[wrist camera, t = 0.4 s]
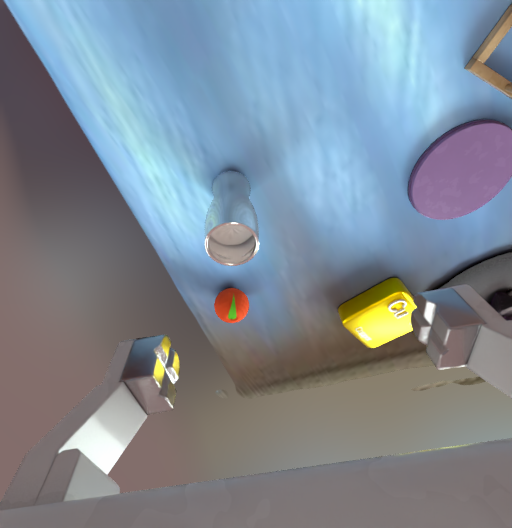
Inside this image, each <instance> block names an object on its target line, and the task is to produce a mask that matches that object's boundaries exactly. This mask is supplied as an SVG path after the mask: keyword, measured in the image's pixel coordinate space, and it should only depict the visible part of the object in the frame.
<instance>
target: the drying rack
mask: <svg viewBox="0 0 512 528" xmlns="http://www.w3.org/2000/svg"><path fill="white" fill-rule="evenodd" d="M511 27H512V4H511V5H510V6H509V8H508V9H507V10H506V12H505V13H504V15H503V16H502V17H501V19H500V20H499V21H498V23H497V24H496V26H495V27H494V28H493V30H492V31H491V32H490V34H489V35H488V37H487V38H486V39H485V41H484V42H483V43H482V45H481V46H480V48H479V49H478V50H477V52H476V53H475V54H474V56H473V57H472V59H471V60H470V61H469V63H468V64H467V65H466V67H465V69H466V70H467V71H469V72H471V73H472V74H474V75H475V76H477V77H478V78H480V79H481V80H483V81H485V82H486V83H488V84H489V85H491V86H492V87H494V88H495V89H497V90H498V91H500V92H502V93H503V94H505V95H506V96H508V97H509V98H511V99H512V82H510V81H509V80H507V79H506V78H504V77H503V76H501V75H500V74H498V73H497V72H495V71H494V70H492V69H491V68H489V67H488V66H486V65H485V64H483V63H485V61H486V60H487V59H488V57H489V56H490V55H491V53H492V52H493V51H494V49H495V48H496V47H497V45H498V44H499V43H500V41H501V40H502V39H503V37H504V36H505V35H506V33H507V32H508V31H509V29H510V28H511Z"/></svg>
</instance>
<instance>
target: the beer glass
mask: <svg viewBox="0 0 512 528" xmlns="http://www.w3.org/2000/svg"><path fill="white" fill-rule="evenodd" d="M250 191H251V187H250V183H249V181H248V179H247V178H246V177H245V176H244V175H243V174H241V173H239V172H237V171H225V172H222V173H221V174H219V175H218V176H217V177H216V178H215V179H214V181H213V184H212V193H213V197H214V198H213V200H212V202H211V204H210V207H209V209H208V212H207V215H206V220H205V249H206V252H207V254H208V255H209V256H210V257H211V258H212V259H213V260H214V261H216V262H218V263H220V264H223V265H228V266H236V265H241V264H244V263H246V262H248V261H249V260H251V259H252V258H253V257H254V256H255V254H256V253H257V251H258V247H259V229H258V220H257V215H256V212H255V210H254V207H253V205H252V203H251V201H250V199H249V196H250Z"/></svg>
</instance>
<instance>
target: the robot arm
mask: <svg viewBox="0 0 512 528" xmlns="http://www.w3.org/2000/svg"><path fill="white" fill-rule="evenodd" d="M413 303H414V304H415V306H416V308H415V309H414V310H413V311H412V312H411V319H410V321H411V326H412V330H413V332H414V334H415V336H416V338H417V339H418V341H420V342H422V343H424V344H425V345H427V348H426V353H427V355H428V356H429V358H430V359H431V361H432V362H433V364H434V365H435V367H436V368H437V369H446V368H454V367H462V366H466V368H468V369H469V370H471V371H472V372H474V373H475V374H477V375H478V376H480V377H481V378H482V379H484V380H485V381H487V382H489V383H490V384H492V385H493V386H495V387H496V388H497V389H499V390H500V391H502V392H503V393H505V394H506V395H508V396H509V397H511V398H512V320H508V321H506V320H505V319H504V318H503V317H502V316H501V315H500V314H499V313H498V312H497V311H496V310H495V309H494V308H492V307H491V306H490V305H489V304H488V303H487V302H486V301H485V300H484V299H483V298H482V297H481V296H480V295H479V294H478V293H477V292H476V291H475V290H474V289H473V288H472V287H470V286H468V285H466V284H465V285H460V286H454V287H449V288H443V289H437V290H431V291H425V292H420V293H416V295H415V296H414V300H413ZM170 345H171V341H170V339H169V337H168V336H167V335H159V336H152V337H145V338H138V339H133V340H126V341H121V342H120V343H119V344H118V346H117V348H116V350H115V353H114V355H113V358H112V360H111V362H110V365H109V367H108V370H107V372H106V375H105V377H104V380H103V382H102V385H99V386H96V387H95V388H94V389H93V390H92V391H91V392H90V393H89V394H88V395H87V396H86V397H85V398H84V399H83V400H82V401H81V402H80V403H78V404H77V405H76V406H75V407H74V408H73V409H72V410H71V411H70V412H69V413H68V414H67V415H66V416H65V417H64V418H63V419H62V420H61V421H60V422H59V423H58V424H57V425H56V426H55V427H54V428H53V429H52V430H50V432H48V433H47V434H46V435H45V436H44V437H43V438H42V439H41V440H40V441H39V442H38V443H37V444H36V445H35V446H34V447H33V448H32V449H31V450H30V451H29V452H28V453H27V454H26V455H25V457H24V459H23V460H22V463H21V464H20V466H19V468H18V470H17V472H16V474H15V476H14V478H13V480H12V482H11V483H10V485H9V487H8V489H7V491H6V493H5V495H4V497H3V499H2V501H1V502H0V528H512V438H509V439H501V440H494V441H488V442H480V443H473V444H466V445H459V446H452V447H445V448H438V449H431V450H424V451H416V452H409V453H402V454H395V455H388V456H381V457H375V458H367V459H360V460H353V461H346V462H339V463H332V464H324V465H317V466H311V467H303V468H296V469H289V470H282V471H275V472H269V473H261V474H254V475H247V476H240V477H233V478H226V479H219V480H212V481H205V482H198V483H191V484H183V485H176V486H169V487H162V488H156V489H149V490H141V491H134V492H128V493H121V494H119V491H120V488H119V486H118V484H117V483H115V482H114V481H113V480H112V479H111V478H110V477H109V476H108V475H107V474H108V473H109V472H110V470H111V469H112V467H113V466H114V464H115V463H116V461H117V460H118V458H119V457H120V456H121V454H122V452H123V451H124V449H125V448H126V447H127V445H128V444H129V442H130V441H131V440H132V438H133V437H134V435H135V434H136V432H137V431H138V429H139V428H140V427H141V425H142V424H143V422H144V421H145V419H146V418H147V415H148V414H154V413H160V412H165V411H170V410H173V408H174V402H175V395H176V389H175V387H174V383H175V382H176V381H177V380H178V378H179V372H180V365H179V358H178V355H177V353H176V351H175V350H174V349H172V348H170Z"/></svg>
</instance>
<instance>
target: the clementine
mask: <svg viewBox="0 0 512 528" xmlns="http://www.w3.org/2000/svg"><path fill="white" fill-rule="evenodd" d="M214 306H215V312H216V314H217V315H218V317H219V318H220V319H221V320H223V321H225V322H228V323H235V322H238V321H240V320H242V319H243V318H244V317H245V316H246V314H247V312H248V310H249V301H248V298H247V296H246V295H245V294H244V293H243V292H242V291H240V290H239V289H236V288H228V289H225V290H223V291H222V292H220V293H219V294H218V296H217V297H216V300H215V304H214Z"/></svg>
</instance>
